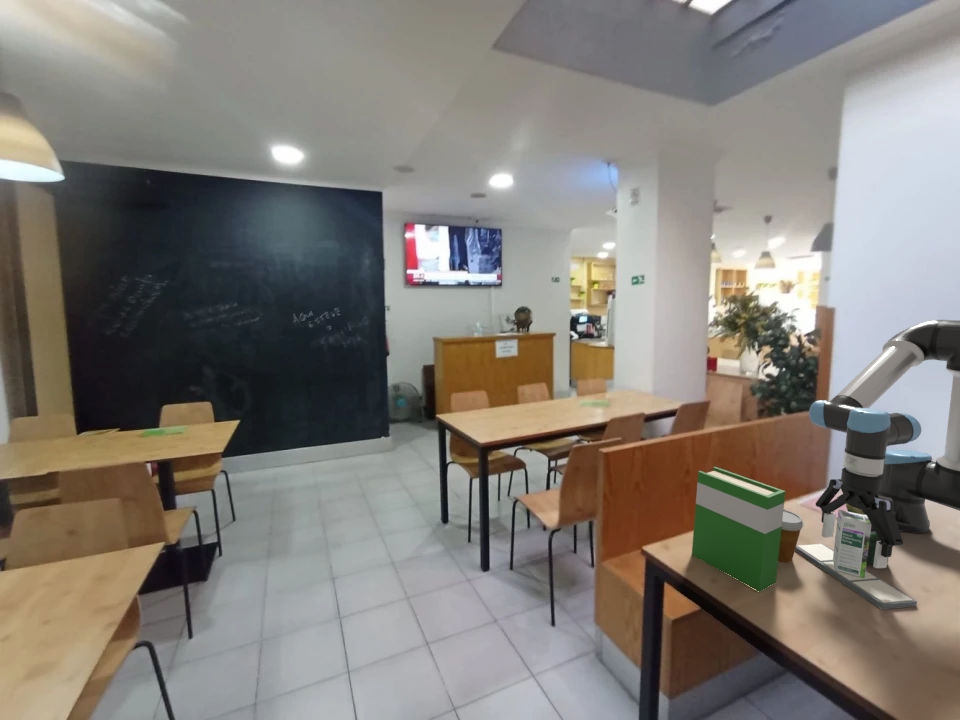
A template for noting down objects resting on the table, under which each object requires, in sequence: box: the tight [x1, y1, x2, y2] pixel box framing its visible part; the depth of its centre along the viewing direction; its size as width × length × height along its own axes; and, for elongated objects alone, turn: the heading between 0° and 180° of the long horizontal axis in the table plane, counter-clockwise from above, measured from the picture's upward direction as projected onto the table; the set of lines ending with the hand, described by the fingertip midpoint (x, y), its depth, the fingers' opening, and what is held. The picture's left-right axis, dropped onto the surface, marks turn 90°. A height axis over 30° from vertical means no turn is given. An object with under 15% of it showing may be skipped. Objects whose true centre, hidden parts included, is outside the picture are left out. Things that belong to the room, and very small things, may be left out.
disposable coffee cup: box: [778, 508, 805, 563], centre depth 117 cm, size 10×10×12 cm
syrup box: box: [833, 509, 871, 578], centre depth 109 cm, size 6×6×14 cm
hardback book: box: [691, 466, 786, 593], centre depth 111 cm, size 18×7×24 cm, turn 29°
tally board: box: [794, 543, 918, 610], centre depth 110 cm, size 9×24×1 cm, turn 7°
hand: (851, 551), depth 109 cm, fingers open, 13 cm apart
